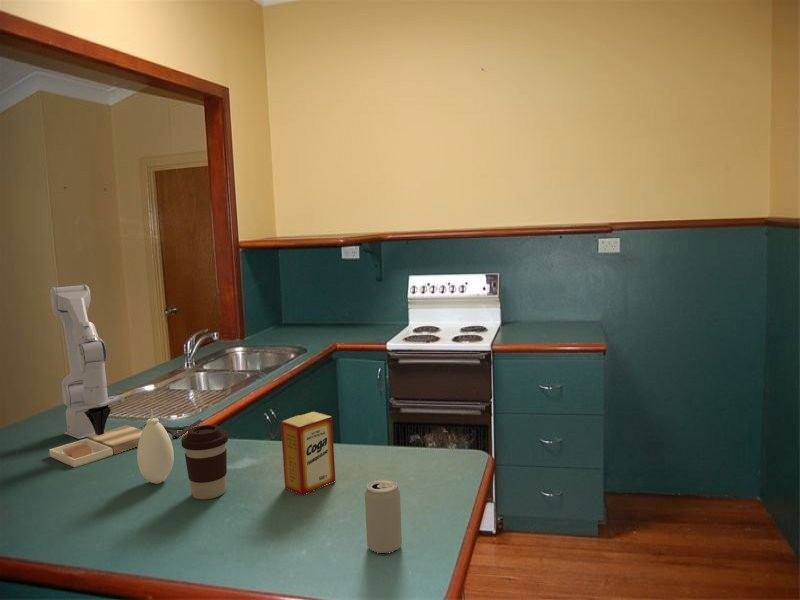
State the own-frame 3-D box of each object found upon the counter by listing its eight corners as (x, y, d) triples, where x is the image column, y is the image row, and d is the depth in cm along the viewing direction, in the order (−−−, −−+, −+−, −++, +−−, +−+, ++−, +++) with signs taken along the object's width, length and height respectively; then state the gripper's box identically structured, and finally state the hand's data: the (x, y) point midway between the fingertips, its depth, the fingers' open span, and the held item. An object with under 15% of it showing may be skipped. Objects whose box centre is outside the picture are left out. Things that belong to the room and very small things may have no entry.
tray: (50, 456, 170) (49, 449, 170) (88, 445, 178) (87, 438, 178) (74, 467, 162) (73, 460, 162) (113, 455, 170) (112, 448, 170)
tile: (82, 443, 173) (82, 451, 173) (63, 448, 169) (63, 456, 169) (91, 446, 169) (91, 454, 170) (71, 452, 166) (72, 460, 166)
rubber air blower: (163, 489, 146) (156, 413, 144) (133, 488, 148) (126, 413, 145) (181, 476, 154) (175, 403, 151) (152, 474, 155) (146, 403, 153)
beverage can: (366, 540, 120) (363, 479, 118) (400, 537, 120) (398, 476, 119) (367, 557, 113) (364, 493, 112) (403, 554, 114) (401, 490, 112)
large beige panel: (89, 445, 179) (88, 436, 178) (127, 433, 188) (127, 425, 187) (114, 454, 170) (113, 445, 170) (153, 442, 179) (153, 433, 179)
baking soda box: (317, 474, 151) (313, 409, 149) (335, 481, 147) (331, 414, 145) (285, 488, 145) (280, 420, 143) (302, 495, 140) (298, 425, 138)
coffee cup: (240, 486, 146) (235, 423, 144) (214, 505, 137) (209, 438, 135) (204, 482, 149) (199, 420, 148) (176, 500, 140) (170, 434, 138)
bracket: (158, 423, 198) (158, 414, 198) (202, 424, 195) (202, 415, 195) (131, 440, 184) (130, 430, 184) (178, 441, 181) (177, 431, 181)
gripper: (74, 394, 164) (80, 444, 166) (128, 381, 175) (132, 429, 177) (62, 390, 168) (67, 439, 170) (115, 378, 180) (119, 424, 181)
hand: (99, 434), depth 174 cm, fingers closed
